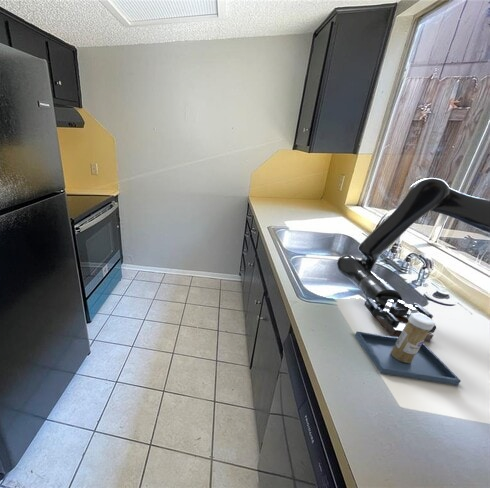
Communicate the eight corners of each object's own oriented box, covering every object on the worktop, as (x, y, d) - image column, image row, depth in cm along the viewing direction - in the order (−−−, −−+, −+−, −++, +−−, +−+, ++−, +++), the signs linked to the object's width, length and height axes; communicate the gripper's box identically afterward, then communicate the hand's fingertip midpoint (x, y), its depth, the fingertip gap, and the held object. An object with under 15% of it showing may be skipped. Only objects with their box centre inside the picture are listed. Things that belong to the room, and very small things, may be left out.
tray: (418, 345, 75) (421, 340, 74) (456, 386, 63) (461, 380, 62) (354, 336, 77) (356, 331, 76) (380, 374, 65) (383, 368, 64)
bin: (406, 319, 86) (409, 313, 84) (429, 342, 76) (433, 335, 75) (372, 315, 87) (375, 308, 86) (391, 337, 78) (395, 330, 77)
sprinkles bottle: (407, 366, 67) (431, 326, 62) (387, 354, 71) (408, 315, 65) (414, 359, 69) (438, 320, 64) (394, 348, 73) (415, 310, 67)
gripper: (358, 279, 81) (390, 312, 66) (408, 285, 79) (453, 320, 64) (350, 298, 84) (379, 334, 69) (398, 304, 82) (438, 342, 67)
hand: (414, 327), depth 67 cm, fingers open, 8 cm apart
